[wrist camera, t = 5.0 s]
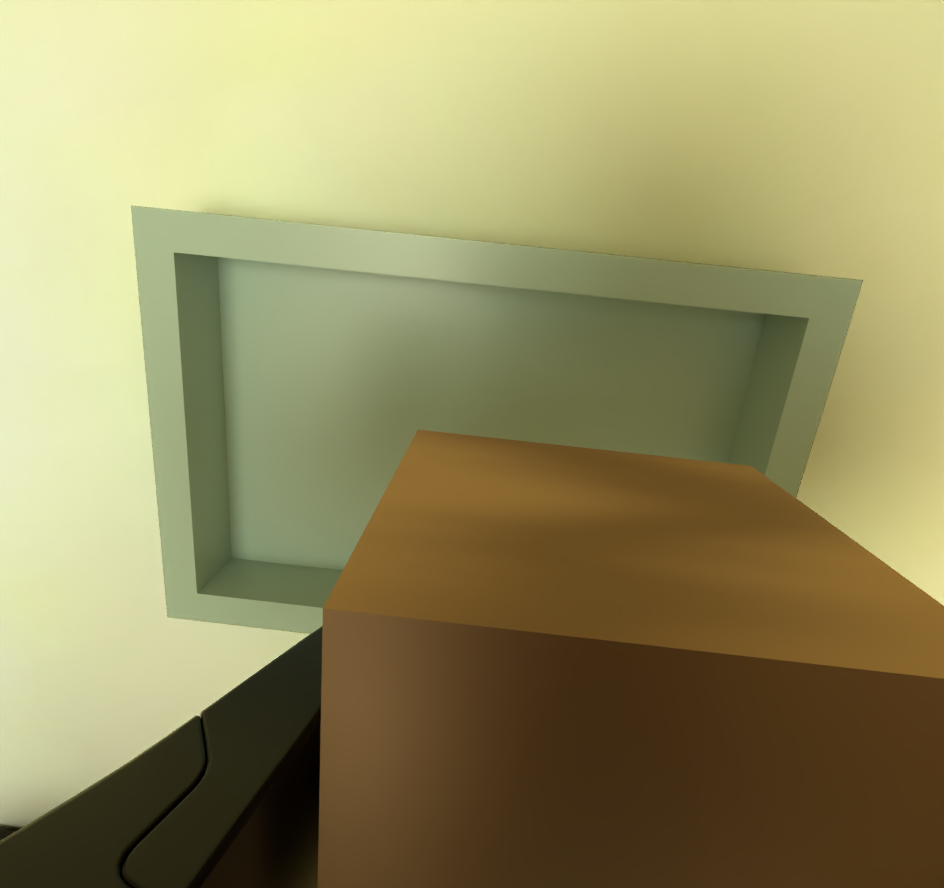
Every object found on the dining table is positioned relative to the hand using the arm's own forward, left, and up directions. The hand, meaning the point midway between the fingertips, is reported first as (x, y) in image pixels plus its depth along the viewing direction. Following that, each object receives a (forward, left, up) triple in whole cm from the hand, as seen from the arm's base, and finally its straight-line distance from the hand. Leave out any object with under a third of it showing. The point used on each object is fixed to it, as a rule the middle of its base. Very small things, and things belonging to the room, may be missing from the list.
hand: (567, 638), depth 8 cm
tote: (0, +2, -10) cm, 10 cm away
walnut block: (0, 0, -1) cm, 1 cm away
